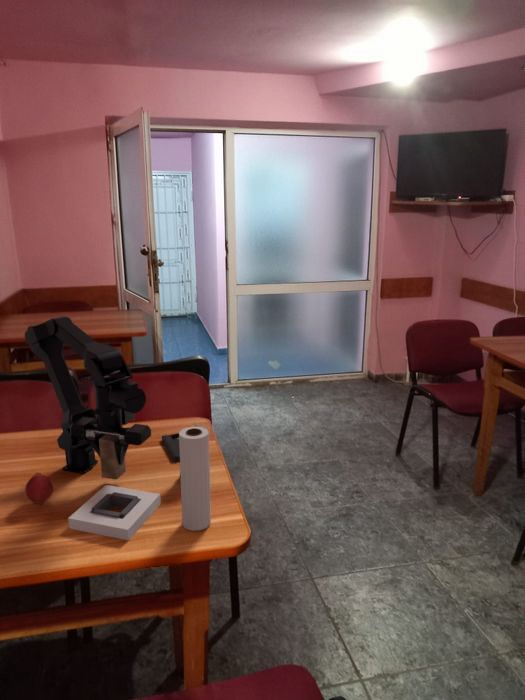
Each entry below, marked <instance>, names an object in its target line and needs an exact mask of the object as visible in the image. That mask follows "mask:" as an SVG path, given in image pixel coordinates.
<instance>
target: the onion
mask: <svg viewBox="0 0 525 700" xmlns="http://www.w3.org/2000/svg"><path fill="white" fill-rule="evenodd" d="M52 481H53V480H52V479H50V478H49V477H48V476H47V475H45V474H42V472H41V471H37V472H35V474H34V475H32V476H31V477H30V478H29V480H28V481H27V483H26V485H25V496H26V498H27V499H28V500H29V501H31V502H33V503H35V504H39V505H41V504H42V505H43V504H44V503H45V502H46V501H48V499H49V498H51V496H52V494H53V493H54V483H53V482H52Z"/></svg>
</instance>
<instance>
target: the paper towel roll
mask: <svg viewBox="0 0 525 700" xmlns="http://www.w3.org/2000/svg"><path fill="white" fill-rule="evenodd" d="M178 433H179V448H180V461H179V470H180V471H179V475H180V474H181V481H180V492H181V493H180V494H181V496H180V497H181V518H182V519H181V521H182V523H181V524H182V527H184V528H185V529H186V530H188V531H193V532H199V531H202V530H205V529H207V528H208V527H209V526H210V525H211V522H212V521H211V519H212V516H211V515H212V514H211V511H212V510H211V474H210V473H211V472H210V470H211V469H210V432H209V429H207V428H206V427H205V426H202V425H200V424H198V423H197V422H195V423H194V426H189V427H185V428H182V429H181V430H179V432H178Z"/></svg>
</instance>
